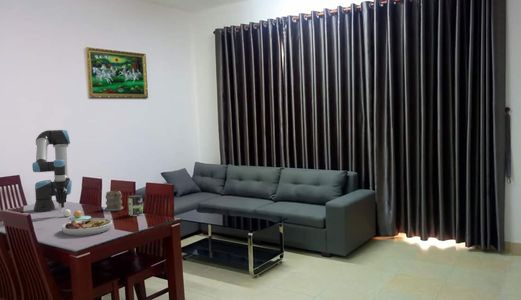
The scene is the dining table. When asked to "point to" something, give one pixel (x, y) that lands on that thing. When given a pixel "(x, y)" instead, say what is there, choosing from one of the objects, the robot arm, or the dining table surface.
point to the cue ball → (66, 212)
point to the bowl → (86, 226)
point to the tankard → (113, 201)
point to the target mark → (80, 218)
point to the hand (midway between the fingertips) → (61, 211)
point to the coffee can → (135, 205)
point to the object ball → (77, 214)
